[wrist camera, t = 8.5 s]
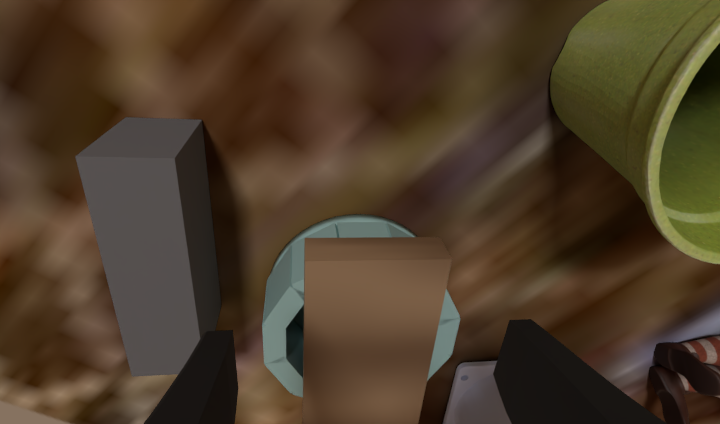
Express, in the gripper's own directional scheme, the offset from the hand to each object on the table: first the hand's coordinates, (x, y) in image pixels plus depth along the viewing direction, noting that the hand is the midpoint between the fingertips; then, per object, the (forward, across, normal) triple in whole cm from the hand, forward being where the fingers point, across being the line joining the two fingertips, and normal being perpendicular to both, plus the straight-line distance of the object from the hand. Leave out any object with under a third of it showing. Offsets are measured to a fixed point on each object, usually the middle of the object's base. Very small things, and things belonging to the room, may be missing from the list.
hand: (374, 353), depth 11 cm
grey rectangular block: (+10, +8, +2) cm, 13 cm away
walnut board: (+6, -1, +6) cm, 9 cm away
